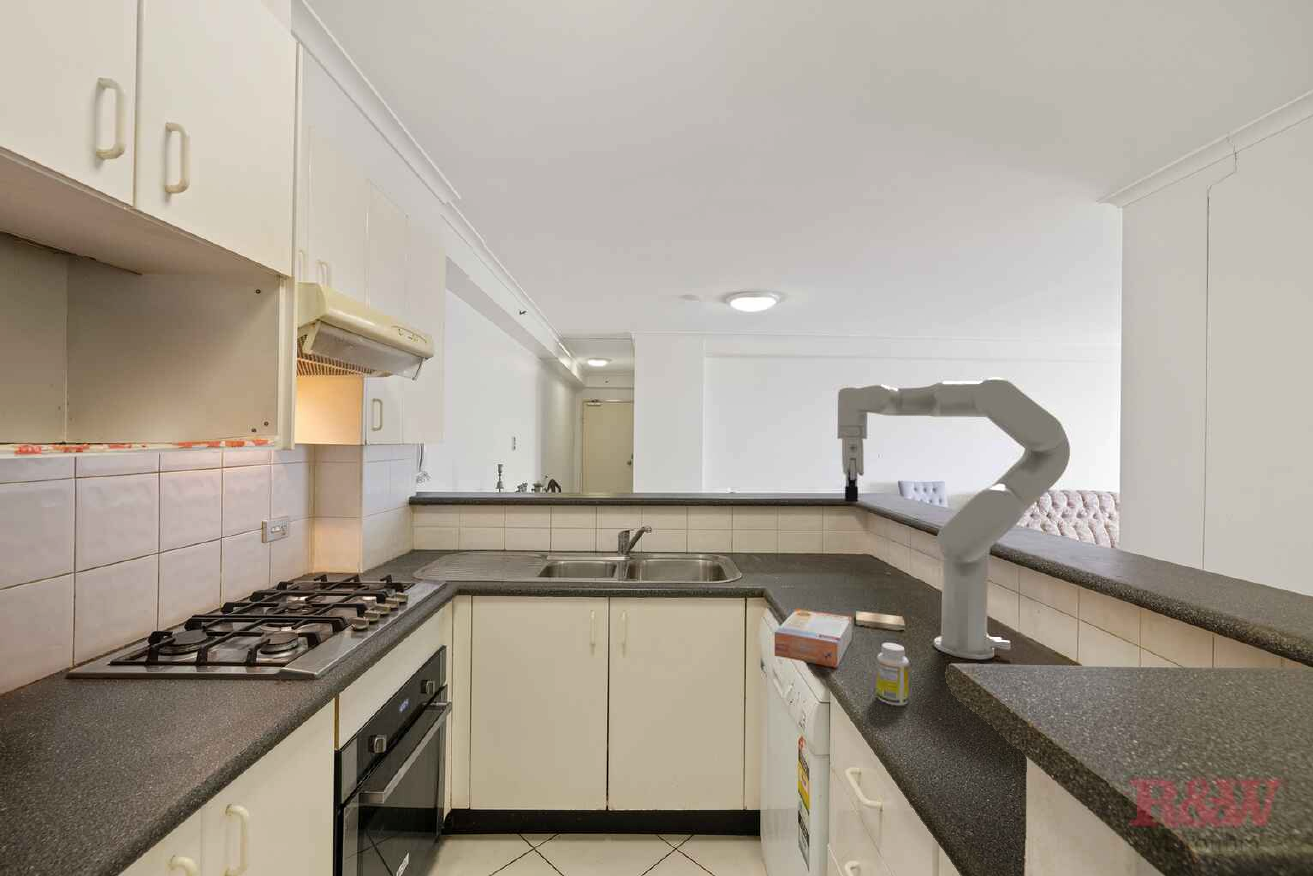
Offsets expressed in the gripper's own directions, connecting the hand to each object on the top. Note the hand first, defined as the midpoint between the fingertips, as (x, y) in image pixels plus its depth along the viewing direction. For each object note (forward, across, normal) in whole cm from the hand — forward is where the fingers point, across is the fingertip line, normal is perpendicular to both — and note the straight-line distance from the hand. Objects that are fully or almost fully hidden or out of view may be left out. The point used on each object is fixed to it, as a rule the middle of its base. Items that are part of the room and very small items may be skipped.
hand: (851, 501), depth 148 cm
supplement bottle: (+34, -43, -5) cm, 55 cm away
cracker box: (+30, -10, +7) cm, 33 cm away
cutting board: (+33, +4, -8) cm, 35 cm away
